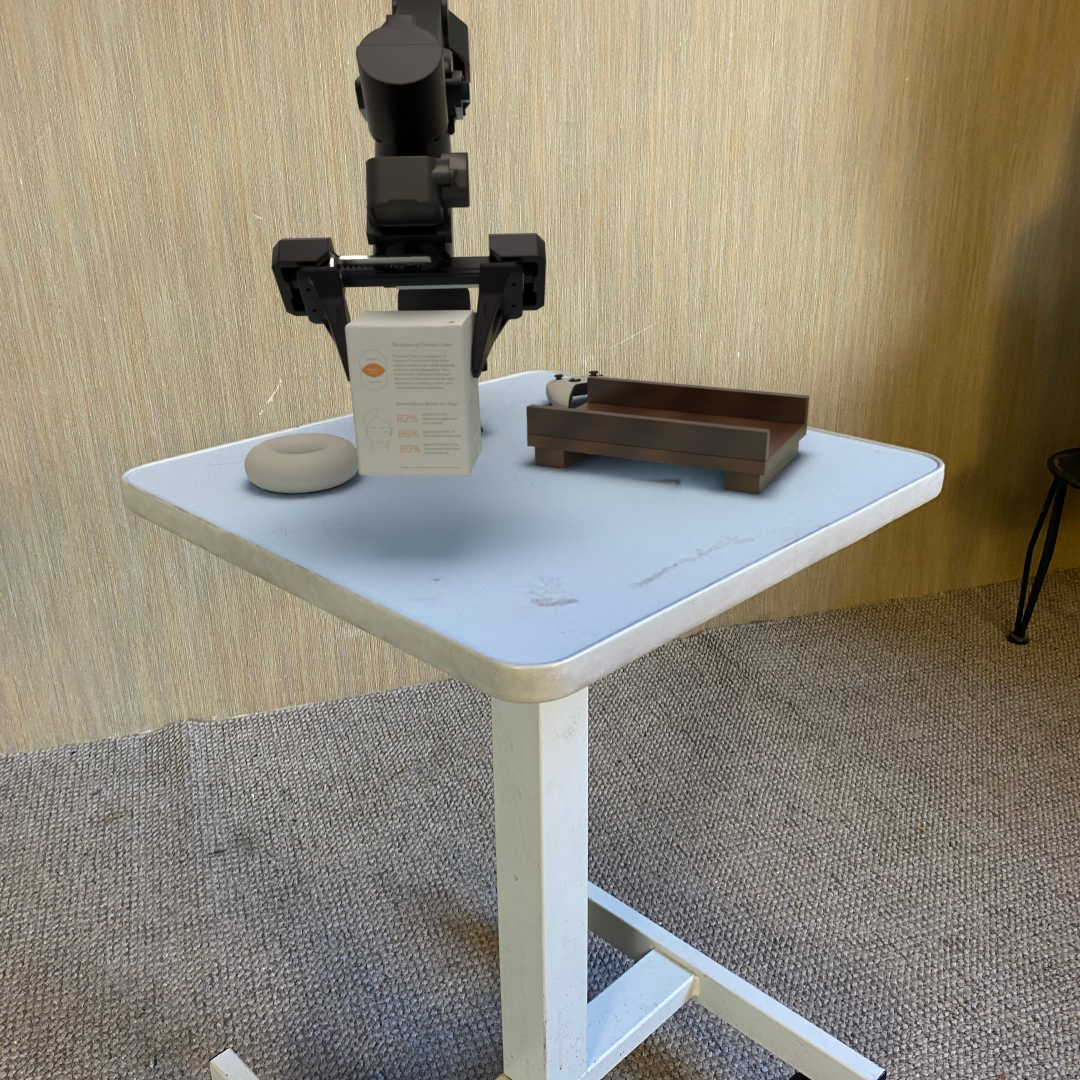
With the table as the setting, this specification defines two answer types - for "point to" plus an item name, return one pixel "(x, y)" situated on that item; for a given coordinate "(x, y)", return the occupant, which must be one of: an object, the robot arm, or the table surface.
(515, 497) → the table surface
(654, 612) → the table surface
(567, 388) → the game controller
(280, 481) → the donut
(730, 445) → the tray
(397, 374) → the small box
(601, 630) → the table surface
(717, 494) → the table surface
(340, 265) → the robot arm
